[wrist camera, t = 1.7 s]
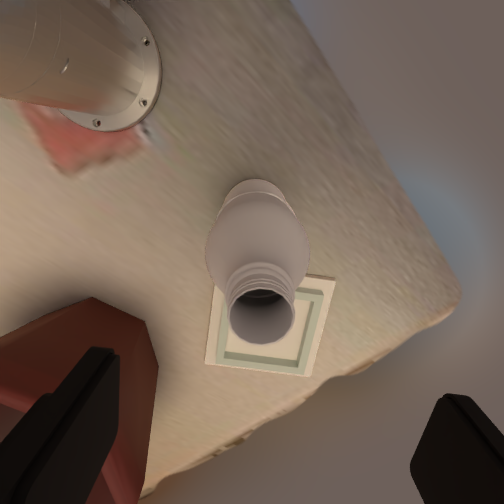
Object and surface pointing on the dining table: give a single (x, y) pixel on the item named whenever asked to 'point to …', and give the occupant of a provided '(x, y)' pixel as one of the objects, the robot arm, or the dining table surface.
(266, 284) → the water bottle
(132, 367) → the bucket
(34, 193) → the dining table surface
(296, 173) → the dining table surface
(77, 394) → the robot arm
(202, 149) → the dining table surface
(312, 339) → the plate
